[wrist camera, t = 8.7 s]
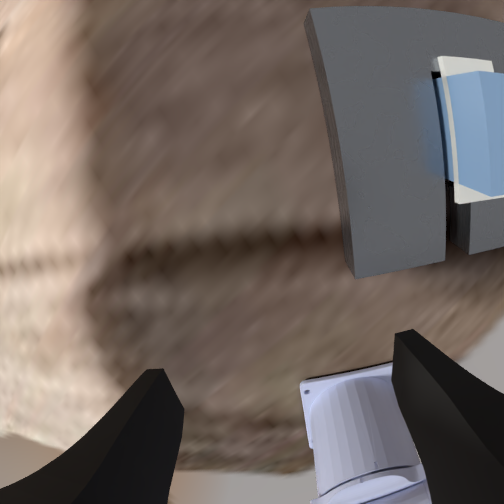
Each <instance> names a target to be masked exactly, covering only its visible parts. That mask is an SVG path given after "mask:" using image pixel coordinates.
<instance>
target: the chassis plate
mask: <svg viewBox="0 0 504 504" xmlns="http://www.w3.org/2000/svg"><path fill="white" fill-rule="evenodd" d="M304 27H305V30H306V34H307V38H308V42H309V46H310V50H311V54H312V59H313V63H314V67H315V72H316V76H317V81H318V85H319V90H320V95H321V100H322V105H323V110H324V115H325V120H326V125H327V131H328V137H329V142H330V148H331V154H332V160H333V167H334V173H335V180H336V187H337V194H338V202H339V209H340V217H341V226H342V235H343V244H344V254H345V261H346V263H347V265H348V267H349V269H350V270H351V272H352V274H353V276H354V278H355V279H359V278H364V277H370V276H375V275H380V274H384V273H389V272H394V271H399V270H404V269H409V268H413V267H418V266H423V265H427V264H432V263H436V262H441V261H445V248H446V197H445V176H444V162H443V150H442V140H441V132H440V124H439V116H438V110H437V103H436V97H435V91H434V86H433V81H432V76H436V77H441V72H440V67H439V63H438V58H437V57H440V56H451V57H462V58H472V59H481V60H488V61H492V65H493V69H494V73H502V74H504V23H502V22H498V21H494V20H489V19H485V18H480V17H475V16H470V15H464V14H458V13H452V12H445V11H437V10H428V9H418V8H405V7H385V6H346V7H325V8H311V9H309V11H308V14H307V17H306V19H305V22H304ZM449 194H450V241H451V242H453V243H454V244H455V245H457V246H458V247H459V248H461V249H462V250H463V251H465V252H466V253H467V254H468V255H471V254H475V253H479V252H483V251H487V250H491V249H495V248H499V247H503V246H504V197H503V198H496V199H490V200H483V201H477V202H470V203H464V204H458V203H456V202H455V197H454V186H449Z"/></svg>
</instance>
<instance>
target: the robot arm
mask: <svg viewBox="0 0 504 504" xmlns="http://www.w3.org/2000/svg"><path fill="white" fill-rule="evenodd" d="M305 390H308V391H305ZM300 391H301V397H302V403H303V409H304V415H305V421H306V428H307V434H308V440H309V447H310V448H312V449H313V450H314V460H315V470H316V479H317V489H318V498H317V499H313V500H311V501H310V504H504V394H503V393H501V392H499V391H497V390H495V389H494V388H492V387H491V386H489V385H487V384H486V383H484V382H483V381H481V380H480V379H478V378H476V377H475V376H474V375H472V374H471V373H469V372H468V371H467V370H465V369H464V368H462V367H461V366H460V365H458V364H457V363H456V362H454V361H453V360H452V359H450V358H449V357H448V356H447V355H445V354H444V353H443V352H441V351H440V350H439V349H438V348H436V347H435V346H434V345H433V344H431V343H430V342H429V341H428V340H426V339H425V338H424V337H423V336H421V335H420V334H419V333H418V332H416V331H415V330H414V329H411V330H407V331H403V332H399V333H395V340H394V354H393V362H392V363H388V364H384V365H379V366H375V367H371V368H366V369H362V370H357V371H352V372H347V373H343V374H337V375H332V376H327V377H321V378H315V379H309V380H304V381H302V382H301V383H300ZM183 420H184V408H183V406H182V404H181V402H180V400H179V398H178V397H177V395H176V393H175V391H174V389H173V387H172V385H171V383H170V381H169V379H168V377H167V375H166V373H165V371H164V369H147V370H146V371H145V372H144V373H143V374H142V375H141V376H140V377H139V378H138V379H137V380H136V381H135V382H134V384H133V385H132V386H131V387H130V388H129V389H128V390H127V391H126V392H125V394H124V395H123V396H122V397H121V398H120V399H119V400H118V401H117V402H116V403H115V405H114V406H113V407H112V408H111V409H110V410H109V411H108V412H107V413H106V414H105V415H104V416H103V417H102V418H101V419H100V420H99V421H98V422H97V423H96V424H95V425H94V426H93V427H92V428H91V429H90V430H89V431H88V432H87V433H86V434H85V435H84V436H83V437H82V438H81V439H80V440H79V441H77V442H76V443H75V444H74V445H73V446H71V447H70V448H69V449H68V450H67V451H65V452H64V453H63V454H62V455H60V456H59V457H57V458H56V459H55V460H53V461H51V462H50V463H48V464H47V465H45V466H44V467H42V468H41V469H40V470H38V471H36V472H35V473H33V474H31V475H29V476H27V477H25V478H23V479H21V480H19V481H17V482H15V483H13V484H11V485H9V486H6V487H3V488H1V489H0V504H167V502H168V496H169V490H170V486H171V481H172V477H173V473H174V468H175V464H176V460H177V456H178V451H179V447H180V443H181V438H182V430H183ZM412 439H413V440H412ZM413 442H414V443H413ZM414 444H415V445H414ZM415 447H416V448H415ZM416 449H417V451H416ZM417 452H418V454H419V457H420V459H421V462H422V463H420V460H419V457H418V454H417Z"/></svg>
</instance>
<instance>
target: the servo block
mask: <svg viewBox="0 0 504 504" xmlns="http://www.w3.org/2000/svg"><path fill="white" fill-rule="evenodd" d="M437 58H438V63H439V67H440V72H441V78H436V79H432V81H433V86H434V91H435V97H436V103H437V110H438V116H439V124H440V132H441V140H442V150H443V162H444V176H445V179H447V180H450V181H453V182H454V197H455V202H456V203H458V204H464V203H470V202H477V201H483V200H490V199H496V198H503V197H504V74H502V73H494V69H493V65H492V61H488V60H481V59H472V58H462V57H451V56H440V57H437Z"/></svg>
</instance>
